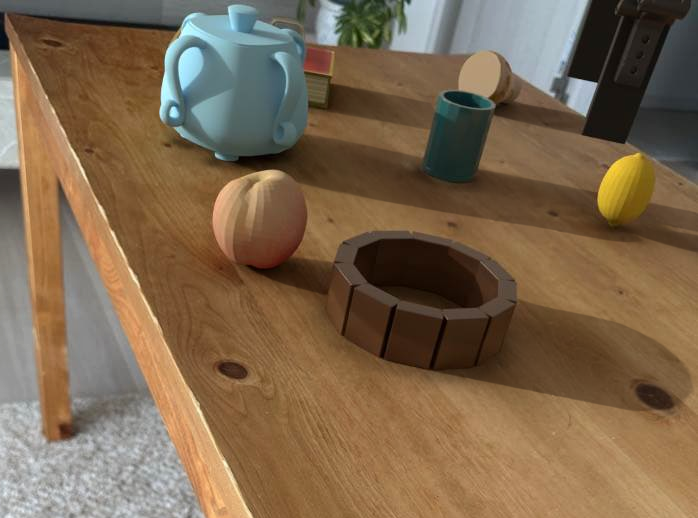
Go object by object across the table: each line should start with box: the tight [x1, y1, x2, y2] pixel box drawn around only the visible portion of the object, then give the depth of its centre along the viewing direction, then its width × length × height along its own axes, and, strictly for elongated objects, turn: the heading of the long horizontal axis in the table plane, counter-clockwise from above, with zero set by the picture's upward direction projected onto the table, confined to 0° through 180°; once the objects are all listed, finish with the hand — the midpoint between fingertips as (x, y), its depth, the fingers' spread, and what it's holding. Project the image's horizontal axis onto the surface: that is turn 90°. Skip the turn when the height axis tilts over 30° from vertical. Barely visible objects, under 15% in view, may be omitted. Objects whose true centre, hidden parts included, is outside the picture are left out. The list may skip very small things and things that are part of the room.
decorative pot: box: [159, 4, 309, 162], centre depth 95 cm, size 16×16×14 cm
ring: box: [324, 230, 518, 371], centre depth 74 cm, size 15×15×4 cm
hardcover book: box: [166, 24, 336, 109], centre depth 116 cm, size 12×21×4 cm, turn 86°
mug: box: [457, 49, 523, 106], centre depth 123 cm, size 8×10×10 cm
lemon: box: [597, 152, 656, 227], centre depth 95 cm, size 6×6×8 cm
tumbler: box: [421, 89, 496, 183], centre depth 100 cm, size 6×6×8 cm
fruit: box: [212, 169, 309, 270], centre depth 76 cm, size 8×8×8 cm
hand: (592, 106), depth 59 cm, fingers open, 13 cm apart
